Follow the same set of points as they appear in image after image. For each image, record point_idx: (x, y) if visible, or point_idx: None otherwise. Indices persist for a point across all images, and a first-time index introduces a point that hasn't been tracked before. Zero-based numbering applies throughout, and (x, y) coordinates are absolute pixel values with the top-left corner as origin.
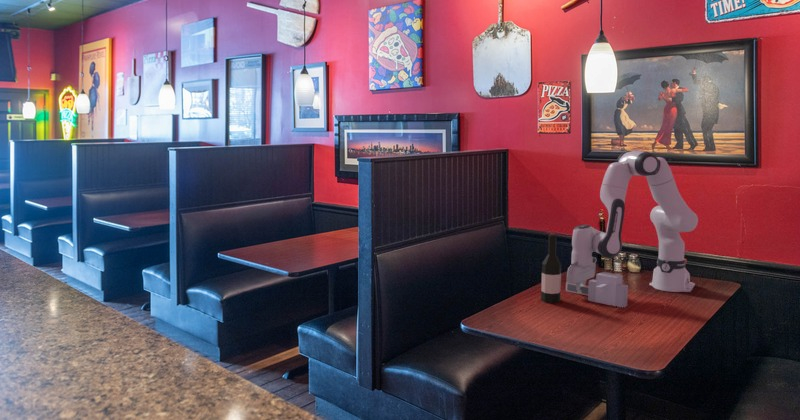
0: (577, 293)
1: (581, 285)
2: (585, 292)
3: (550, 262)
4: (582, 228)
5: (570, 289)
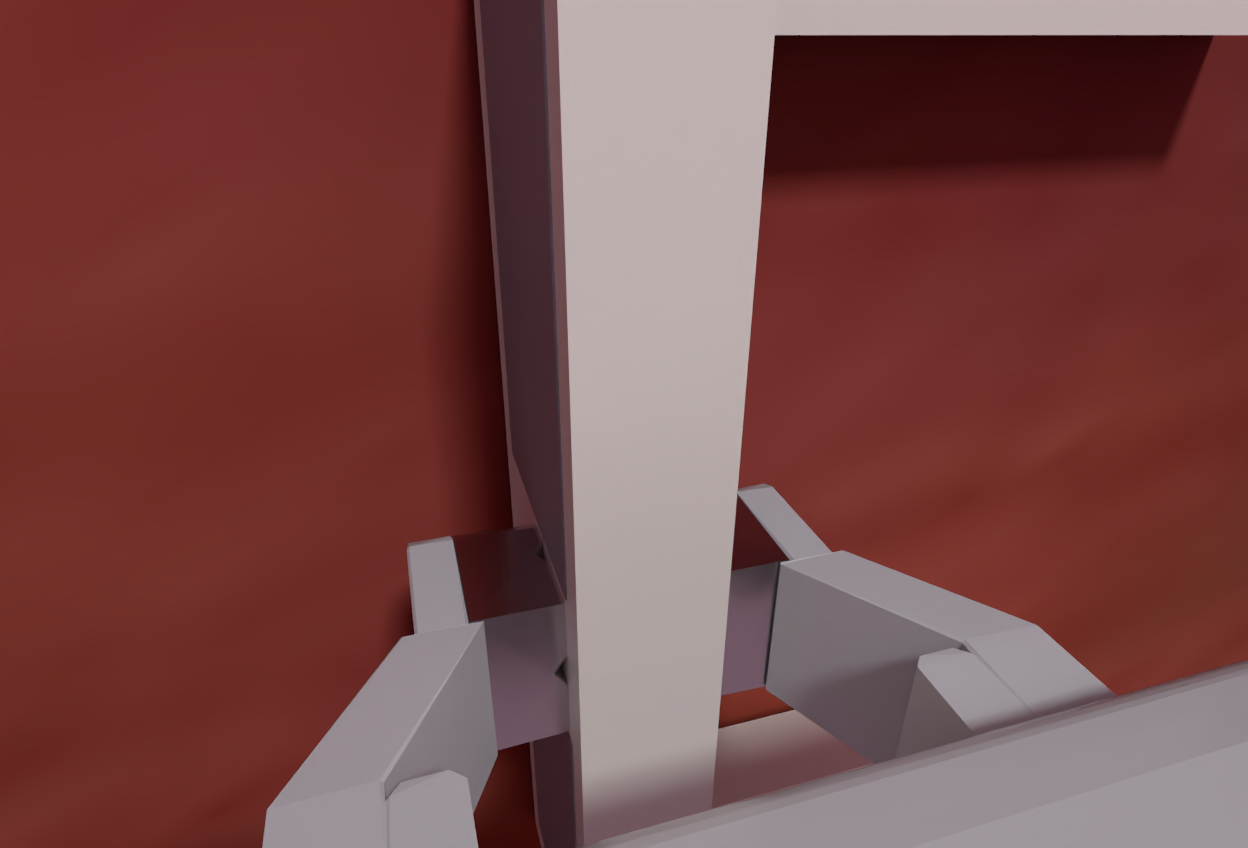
0: (506, 432)
1: (619, 743)
2: None
3: None
4: None
5: (499, 172)
